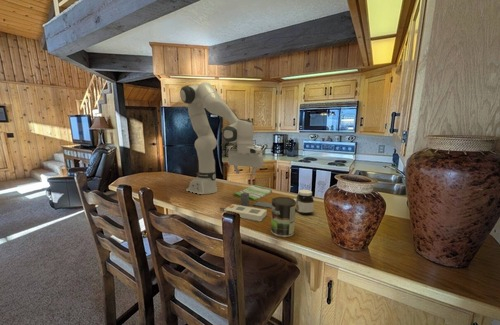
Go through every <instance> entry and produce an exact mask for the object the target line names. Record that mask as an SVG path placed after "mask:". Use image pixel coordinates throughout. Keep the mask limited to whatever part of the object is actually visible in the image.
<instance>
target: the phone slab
mask: <svg viewBox="0 0 500 325" xmlns="http://www.w3.org/2000/svg"><path fill="white" fill-rule="evenodd" d="M252 207H257V208H264V207H265V209H270V210H272V202H271V203H270V202H265V201H257V200H256V201H255V202H254V203H253V204H252Z"/></svg>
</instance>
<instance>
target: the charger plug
mask: <svg viewBox="0 0 500 325" xmlns="http://www.w3.org/2000/svg"><path fill="white" fill-rule="evenodd" d="M240 205H241V206H247V207H250V200H249V193H242V194H241V197H240Z"/></svg>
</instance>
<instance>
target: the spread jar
mask: <svg viewBox="0 0 500 325" xmlns="http://www.w3.org/2000/svg"><path fill="white" fill-rule="evenodd" d="M293 199H294V200H295V201H296V205H295V210H296V211H297V213H298V214H301V215H305V216H309V215H311V214H313V212H314V207H315V206H314V205H315V204H314V202H315V201H314V198H313V191H311V190H309V189H299V190H298V194H297V196H296V198H293Z"/></svg>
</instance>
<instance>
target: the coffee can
mask: <svg viewBox="0 0 500 325" xmlns="http://www.w3.org/2000/svg"><path fill="white" fill-rule="evenodd" d="M271 203H272V209H271V220H270V221H271V222H270V223H271V224H270V225H271V226H270V232H271V234H273V235H274V236H275V237H281V238H289V237H292V236H293V235H294V234H295V222H296V221H295V220H296V201H295V200H294V198H291V197H286V196H278V197H274V198H272V199H271Z"/></svg>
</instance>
